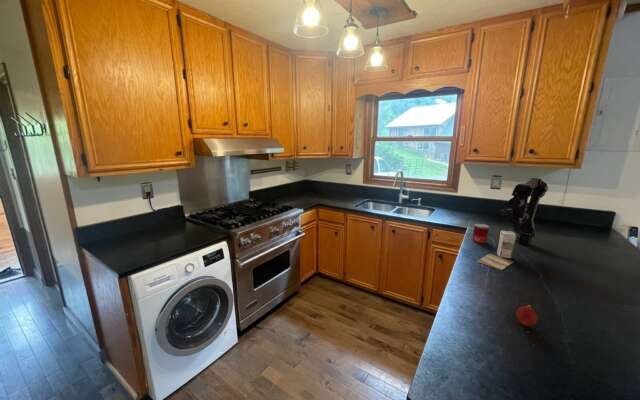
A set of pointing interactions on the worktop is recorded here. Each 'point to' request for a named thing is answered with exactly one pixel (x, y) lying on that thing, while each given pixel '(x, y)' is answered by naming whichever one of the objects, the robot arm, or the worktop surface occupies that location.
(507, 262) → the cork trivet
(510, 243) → the syrup box
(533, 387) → the worktop surface
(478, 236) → the canned food
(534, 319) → the onion
